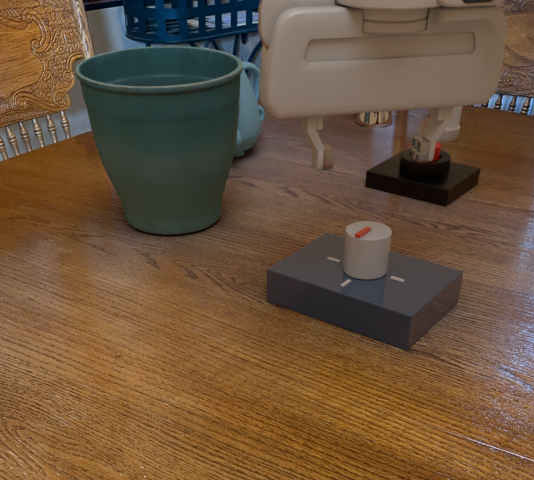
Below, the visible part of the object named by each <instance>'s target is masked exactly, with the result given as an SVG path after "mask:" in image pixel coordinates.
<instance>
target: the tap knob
mask: <svg viewBox="0 0 534 480" xmlns="http://www.w3.org/2000/svg"><path fill="white" fill-rule="evenodd" d="M345 227H346V228H345V229H344V230H345V231H344V237H345V242H344V256H343V271H344V272H345V273H346V274H347V275H348V276H351V277H353V278H357V279H364V280H370V279H377V278H380V277H383V276H384V275H385V274H386V273H387V271H388V262H389V254H390V250H391V245H392V236H393V229H392V228H391V227H390V226H389V225H388V224H385V223H382V222H378V221H374V220H361V221H356V222H352V223H350V224H348V225H347V226H345Z"/></svg>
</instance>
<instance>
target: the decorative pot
mask: <svg viewBox="0 0 534 480" xmlns="http://www.w3.org/2000/svg"><path fill="white" fill-rule="evenodd" d="M205 48H206V49H211V48H209V47H205ZM242 64H243V70H242V73H241V77H240V96H239V106H238V128H237V140H236V147H235V153H234V157H233V158H238V157H243V156H244V155H245V151H247V150H249V149H251V148H253V147H254V145H255V143H256V142H257V140H258V138H259V137H260V134H261V130H262V123H263V121H264V120H265V119H266V118H265V116H266V112H265V108H264V107H263V106H261V105H260V104H259V101H260V98H259V78H260V67H258V66H257V65H256V64H254V63H253V62H250V61H242ZM247 70H249V71H251V72H252V75H253V83H252V84H251V81H250V79H249V77H248V74H247V73H246V71H247Z"/></svg>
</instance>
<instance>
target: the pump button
mask: <svg viewBox="0 0 534 480" xmlns="http://www.w3.org/2000/svg"><path fill="white" fill-rule="evenodd" d="M440 150H442V144H441V142H438V141H436V146H435V152H434V158H433V160H432V161H434V160H438V159H439V157H440Z"/></svg>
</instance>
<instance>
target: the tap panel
mask: <svg viewBox="0 0 534 480" xmlns="http://www.w3.org/2000/svg"><path fill="white" fill-rule="evenodd" d="M344 242H345V236H342V235H338V234H334V233H331V232H326V231H325V232H324V233H323V234H321V235H320V236H318V237H316V238H315V239H313V240H312V241H310V242H309V243H306V244H305V245H304V246H302V247H300V248H298V249H297V250H296V251H294V252H292V253H290V254H289V255H287V256H286V257H284V258H282V259H280V260H279V261H278V262H276V263H274V264H273V265H271V266H269V267H268V268H266V302H268V303H271V304H274V305H276V306H280V307H283V308H285V309H288V310H292V311H294V312H297V313H299V314H302V315H305V316H308V317H311V318H313V319H317V320H320V321H322V322H324V323H328V324H331V325H333V326H336V327H339V328H342V329H345V330H348V331H350V332H353V333H356V334H359V335H362V336H365V337H367V338H369V339H370V338H371V339H373V340H376V341H379V342H381V343H384V344H387V345H390V346H393V347H395V348H399V349H402V350H404V351H408V350H409V349H410V348H411V347H412V346H413V345H414V344H415V343H417V342H418V340H420V339H421V338H422V337H423V336H424V335H425V334H426V333H427V332H428V331H429V330H430V329H432V328H433V327H434V326H435V325H436V324H437V323H438V322H439V321H440V320H441V319H442V318H444V316H446V314H448V313H449V312H450V311H451V310H452V309H454V307H455V306H456V305H458V303H459V297H460V292H461V289H462V288H461V287H462V282H463V277H464V271H463V270H460V269H457V268H454V267H450V266H446V265H443V264H439V263H436V262H433V261H429V260H425V259H423V258H419V257H415V256H412V255H408V254H405V253H401V252H399V251H398V252H397V251H394V250H391V249H390V254H389V262H388V271H387V273H386V274H385V275H384V276H383V277H380V278H377V279H370V280H364V279H357V278H353V277H351V276H348V275H347V274H346V273H345V272H344V271H343V256H344Z"/></svg>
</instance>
